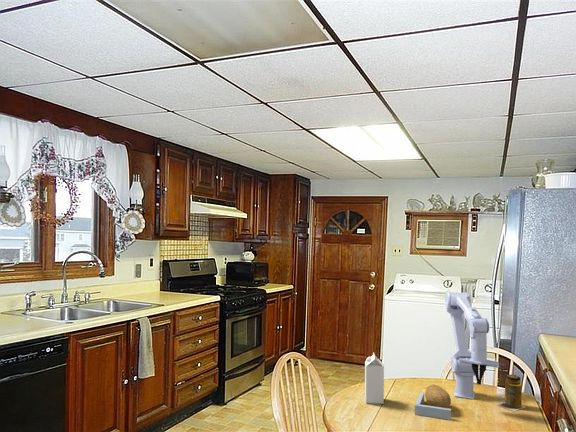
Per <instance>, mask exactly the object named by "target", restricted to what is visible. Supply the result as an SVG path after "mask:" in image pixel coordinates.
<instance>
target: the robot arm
mask: <svg viewBox="0 0 576 432" xmlns="http://www.w3.org/2000/svg"><path fill="white" fill-rule="evenodd" d="M471 302H472V300H471V295H470V293H469V292H467V291H466V292H452V291H451V292H449V291H447V292H446V293H445V296H444V303H445V310H446V312H447V313H449V314H450V318H451V324H452V330H453V337H454V342H455V343H454V344H455V350H456V351H455V352H453V354H451V356H450V368H451V372H453V373H454V374H455V389H454V393H453V394H454V395H453V396H454V397H455V398H456V397H457V398H463V399H469V400H475V394H476V393H475V390H474V376H475V379H476V385H479V386H481V385H482V380H483V377H484V375H485V373H486V370H487V367H492V368H495V369H500V362H499V361H496V360H495V361H494V360H490V359H488V357H487V356H488V355H487V354H488V353H487V350H488V349H487V348H488V346H487V343H488V342H487V341H488V340H487V339H488V338H487V337H488V336H487V334H489V332H490V322H489V320H488V319H487V318H485V317H482V316H481V314H480V312H478V310H477V309H476V308H475V307H472V305H471ZM463 317H464V318H465V320H466V322H467V323H468V330H469V337H470V350H471V351H470V350H469V348H468V347H469V346H468V343H467V342H468V341H467V336H466V335H467V334H466V329H465V325H464V324H465V323H464V318H463Z"/></svg>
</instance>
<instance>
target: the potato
mask: <svg viewBox="0 0 576 432" xmlns="http://www.w3.org/2000/svg"><path fill="white" fill-rule="evenodd" d="M424 392H425V393H424V399H425V400H426V403H427V404H428V406H434V407H441V408H448V409H449V407H450V406H451V405H452V399H451V396H450V394H449V392H447V390H445V389H444V388H443V387H441V386H440V385H436V384H429V385H428V386H427V387H426V389H425V391H424Z"/></svg>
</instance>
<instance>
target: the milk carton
mask: <svg viewBox="0 0 576 432" xmlns="http://www.w3.org/2000/svg"><path fill="white" fill-rule="evenodd" d="M384 372H385V368H384V364H383V362H382V361H381V360H380V359H379V358H378V357H377V356H376V355H375V352H372V355H371V356H368V357H366V359H365V361H364V400H365V404H373V405H374V404H377V405H379V404H381V405H384V404H385V401H384V398H385V393H384V392H385V387H384V386H385V382H384V377H385V375H384V374H385V373H384Z"/></svg>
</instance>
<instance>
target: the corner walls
mask: <svg viewBox="0 0 576 432" xmlns="http://www.w3.org/2000/svg"><path fill="white" fill-rule="evenodd" d="M424 403H425V393H424V392H421V391H420V392H419V394H418V397H417V399H416V402H415V404H414V415H415V416H422V417H423V416H424V417H429V418H436V419H441V420H442V419H443V420H448V421H451V420H452V408H449V407H448V408H441V407H434V406H430V405H426V404H424Z"/></svg>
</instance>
